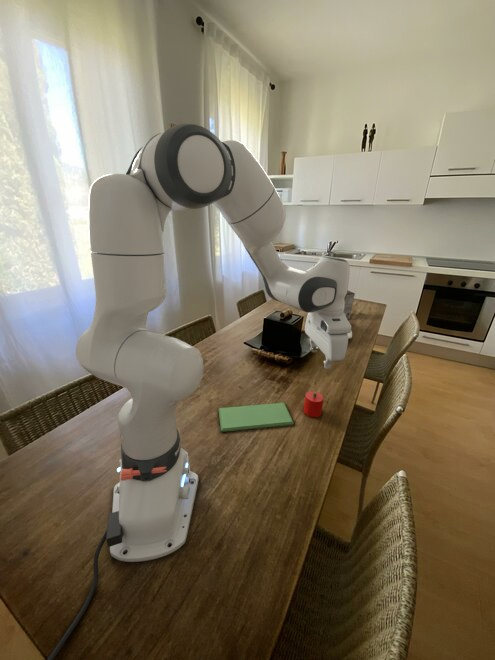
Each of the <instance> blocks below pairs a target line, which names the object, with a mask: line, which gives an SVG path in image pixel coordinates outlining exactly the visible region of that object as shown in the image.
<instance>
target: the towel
mask: <svg viewBox="0 0 495 660" xmlns="http://www.w3.org/2000/svg"><path fill="white" fill-rule="evenodd" d="M218 414H219V415H218V417H219V425H220V432H221V433H224V432H235V431H245V430H252V429H253V430H255V429H265V428H273V427H284V426H285V427H286V426H295V425H294V424H295V423H294V420H293V418H292V416H291V414H290V412H289V410H288V407H287V405H286V403H285V402H276V403H275V402H274V403H263V404H252V405H240V406H228V407H219V408H218Z"/></svg>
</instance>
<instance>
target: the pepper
mask: <svg viewBox="0 0 495 660" xmlns="http://www.w3.org/2000/svg"><path fill="white" fill-rule="evenodd" d="M324 399H325V398H324V395H323V393H321V392H319V391H315V390H310V391H307V392H306V393H305V397H304V406H303V412H304V414H305V415H306V416H308V417H310V418H319V417H320V416H321V415H322V412H323V405H324Z"/></svg>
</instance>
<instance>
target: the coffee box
mask: <svg viewBox="0 0 495 660" xmlns="http://www.w3.org/2000/svg"><path fill="white" fill-rule="evenodd" d="M355 294H356V293H355V292H352V291H350V290H347V294H346V296H345V299H344V305H345V308H344V313H345V315H346V318H347V320H349V319H351V315H352V310H353V305H354V299H355Z"/></svg>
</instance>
